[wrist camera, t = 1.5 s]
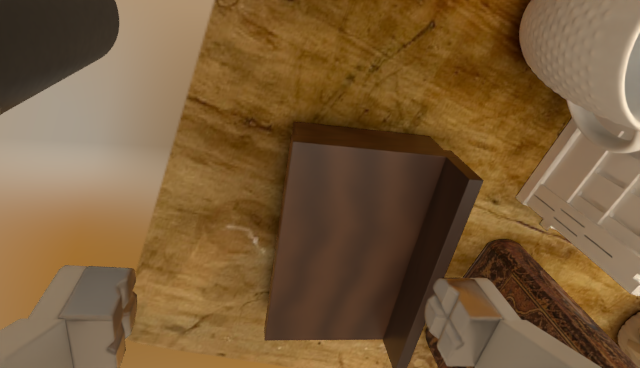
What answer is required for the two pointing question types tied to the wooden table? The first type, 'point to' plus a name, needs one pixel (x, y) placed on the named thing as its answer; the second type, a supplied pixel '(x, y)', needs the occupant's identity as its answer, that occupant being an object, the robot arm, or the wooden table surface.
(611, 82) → the mug
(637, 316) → the vase
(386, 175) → the shelf
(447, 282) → the robot arm
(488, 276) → the book
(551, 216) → the castle model
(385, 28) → the wooden table surface
